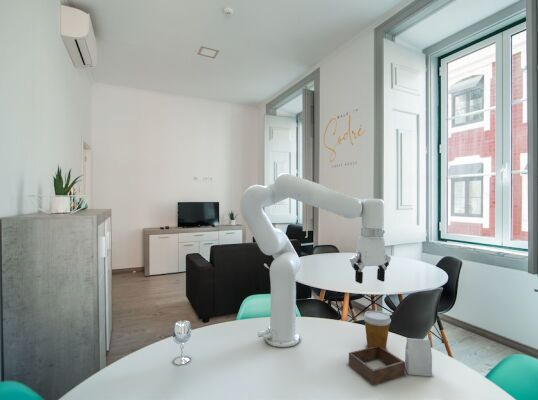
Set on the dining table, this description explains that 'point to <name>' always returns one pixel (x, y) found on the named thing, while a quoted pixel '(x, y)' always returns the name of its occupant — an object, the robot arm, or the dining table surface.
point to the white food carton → (418, 357)
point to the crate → (380, 374)
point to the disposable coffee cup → (376, 328)
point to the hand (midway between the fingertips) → (369, 281)
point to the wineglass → (182, 338)
